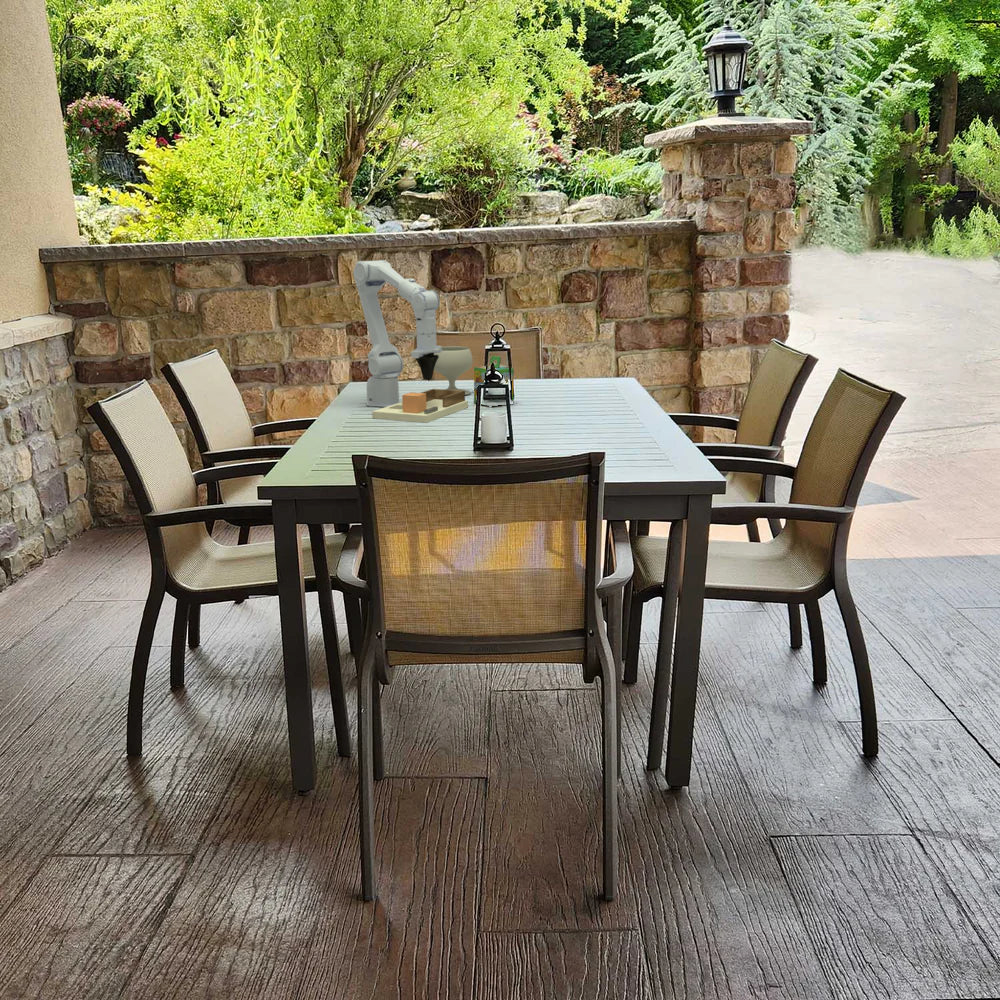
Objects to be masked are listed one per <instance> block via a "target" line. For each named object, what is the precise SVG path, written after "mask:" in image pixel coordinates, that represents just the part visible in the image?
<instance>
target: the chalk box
mask: <svg viewBox="0 0 1000 1000" xmlns="http://www.w3.org/2000/svg"><path fill="white" fill-rule="evenodd" d="M501 360H502V356H497V355H496V356H495V355H491V358H490V361H489V362H490V363H493V364H494V362H495V361H497V363H496V364H494V366H495V368H496V369H497V370H498V371H499V372H500V373H501V374H502V375H503V376H504V379H505V381H506V383H507V382H508V378H509V367H510V366H506V365H501ZM490 363H489V364H490ZM486 366H487V365H484V366H483V365H482V366H475V367H473V370H474V375H473V381H474V382H473V383H474V384H473V404H475V405H477V404H476V396H477V387H478V386H479V385H481V384H483V383H484V378H485V373H486ZM514 375H515V369H514V367H511V381H512V401H513V402H514V389H515V388H514V386H515V385H514V382H515V381H514V379H515V376H514Z"/></svg>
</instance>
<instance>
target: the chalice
mask: <svg viewBox="0 0 1000 1000" xmlns="http://www.w3.org/2000/svg"><path fill="white" fill-rule="evenodd" d="M434 355H439V358H438V360H437V362H436V364H435V367H434V372H437V374H440V375H442V376H443V377H444V378H446V379H447V381H448V387H447V388H445V389H444V390H458V391H465V396H466V395H470V394H471V393H472V392H471V391H470V390H467V389H461V388H460V389H459V388H457V387H456V380H457V379H458V378H459V377H460V376H461V375H463V374H465V373H466V372H468V371H469V370H470V369H471V368H472V367H473V363H474V360H473V359H474V358H473V355H472V352H471V349H470V348H469V347H467V346H459V345H458V346H457V345H456V346H455V345H453V346H451V345H450V346H442V352H440V353H434Z"/></svg>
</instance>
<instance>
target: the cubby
mask: <svg viewBox="0 0 1000 1000" xmlns="http://www.w3.org/2000/svg"><path fill="white" fill-rule="evenodd" d="M420 393H426V402H428V401H431V400H434V399H439V400H443V407H445V408H446V407H449V406H452V405H454V404H457V403H460V402H463V401H466V395H465V391H458V390H445V389H444V388H443V389H442V388H432V389H431V388H430V389H428V390H425V391H422V392H420Z"/></svg>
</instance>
